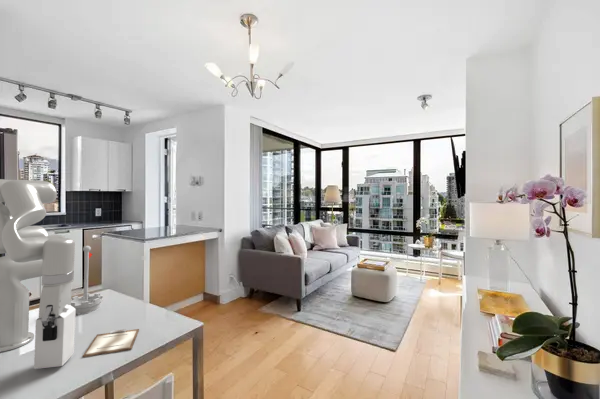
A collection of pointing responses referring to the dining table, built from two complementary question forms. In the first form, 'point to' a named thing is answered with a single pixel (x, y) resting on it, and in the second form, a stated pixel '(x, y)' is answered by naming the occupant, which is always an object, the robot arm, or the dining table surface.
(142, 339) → the dining table surface
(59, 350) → the milk carton
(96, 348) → the clipboard
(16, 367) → the dining table surface
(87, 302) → the flag stand
